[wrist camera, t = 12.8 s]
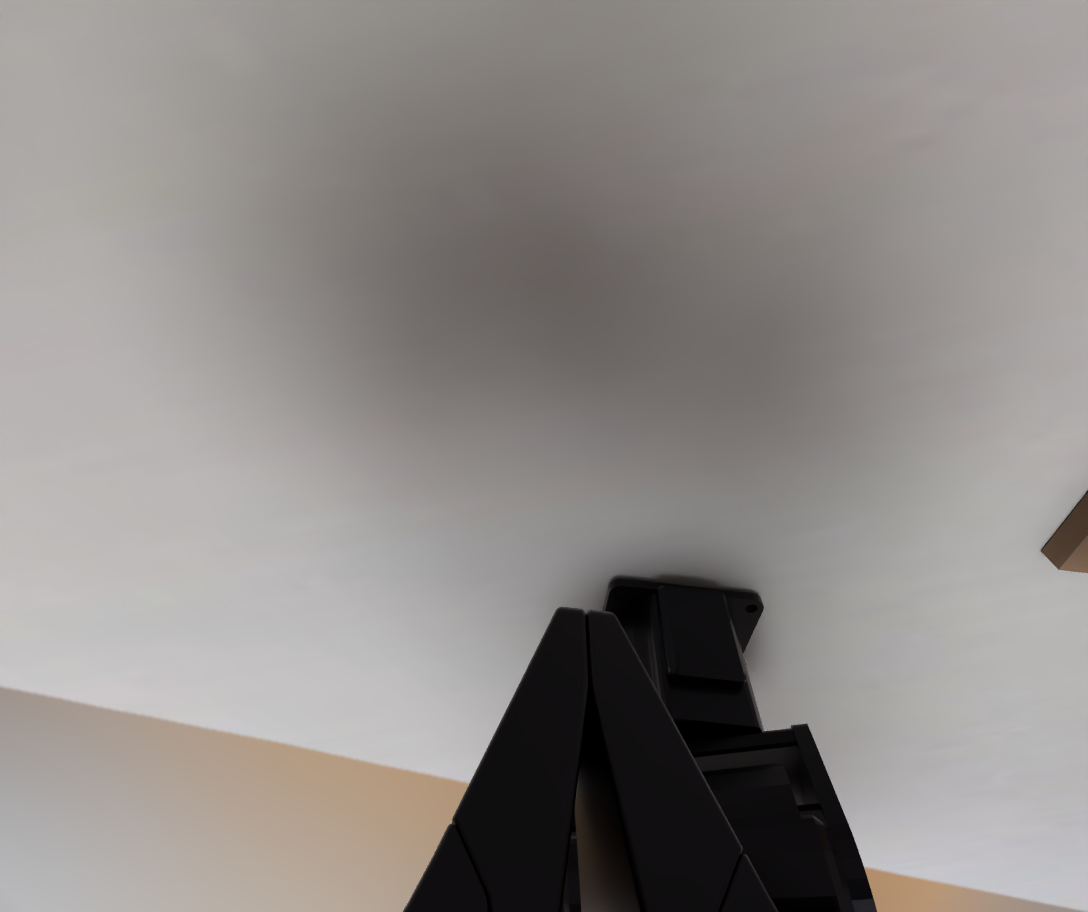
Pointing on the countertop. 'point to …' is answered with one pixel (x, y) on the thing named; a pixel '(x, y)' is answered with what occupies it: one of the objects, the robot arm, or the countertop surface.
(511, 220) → the countertop surface
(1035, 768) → the countertop surface
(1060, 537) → the walnut board
